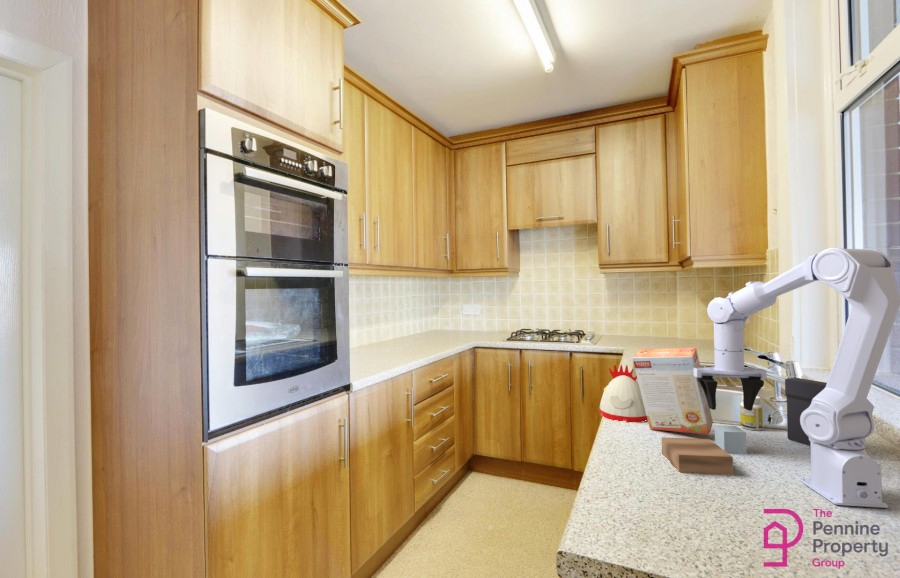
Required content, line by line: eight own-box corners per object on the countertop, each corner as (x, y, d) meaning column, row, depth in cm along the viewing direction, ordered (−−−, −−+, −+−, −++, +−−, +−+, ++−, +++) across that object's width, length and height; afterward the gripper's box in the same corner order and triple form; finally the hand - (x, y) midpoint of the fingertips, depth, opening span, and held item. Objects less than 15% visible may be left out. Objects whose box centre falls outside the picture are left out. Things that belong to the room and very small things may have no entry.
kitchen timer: (604, 406, 132) (604, 359, 132) (652, 412, 125) (651, 362, 125) (595, 418, 120) (594, 366, 121) (647, 425, 113) (647, 370, 113)
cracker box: (713, 422, 105) (697, 346, 102) (710, 436, 101) (692, 356, 98) (654, 417, 114) (638, 347, 111) (649, 429, 110) (631, 357, 107)
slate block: (746, 454, 93) (745, 432, 93) (724, 453, 94) (723, 431, 94) (735, 447, 97) (735, 425, 97) (715, 446, 98) (714, 425, 98)
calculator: (852, 453, 93) (851, 385, 93) (841, 456, 91) (840, 387, 91) (796, 437, 103) (795, 376, 103) (785, 439, 101) (784, 378, 101)
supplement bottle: (755, 425, 112) (754, 394, 112) (767, 431, 108) (766, 398, 108) (736, 424, 113) (736, 394, 113) (747, 430, 108) (746, 398, 108)
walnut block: (733, 477, 83) (732, 456, 83) (679, 474, 84) (678, 454, 84) (709, 457, 93) (709, 439, 93) (661, 455, 94) (661, 437, 94)
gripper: (753, 347, 98) (754, 405, 98) (687, 347, 101) (688, 403, 101) (771, 352, 91) (772, 413, 91) (700, 351, 94) (701, 411, 94)
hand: (729, 409), depth 96 cm, fingers open, 7 cm apart
